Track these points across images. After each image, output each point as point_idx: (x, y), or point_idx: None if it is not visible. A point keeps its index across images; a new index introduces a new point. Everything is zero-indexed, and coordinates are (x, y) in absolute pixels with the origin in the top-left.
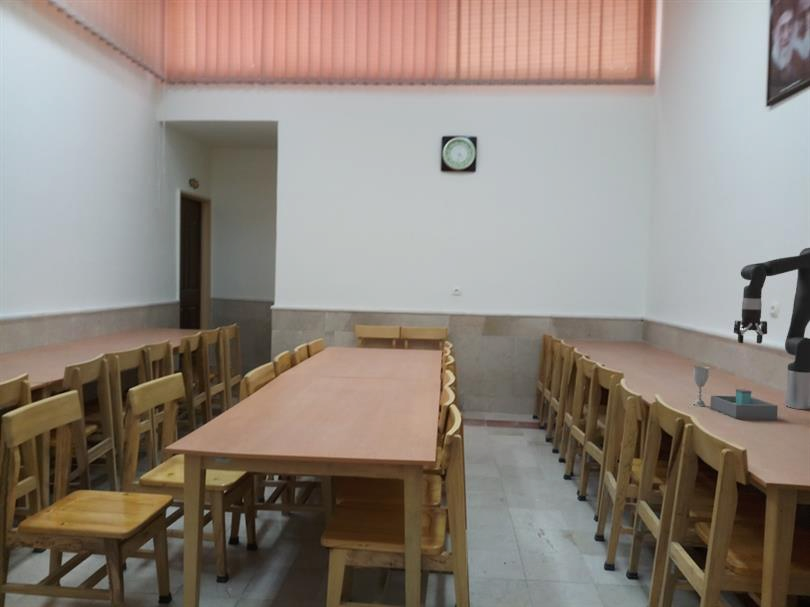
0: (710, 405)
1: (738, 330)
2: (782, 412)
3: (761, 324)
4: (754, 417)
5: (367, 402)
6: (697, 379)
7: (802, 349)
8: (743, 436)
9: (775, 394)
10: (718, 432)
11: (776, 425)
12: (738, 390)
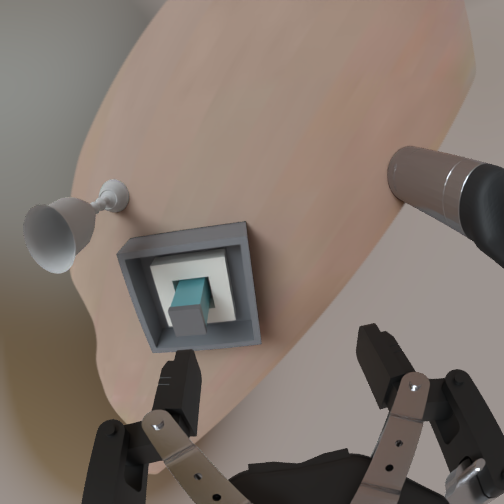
0: (127, 241)
1: (134, 476)
2: (327, 243)
3: (447, 489)
4: None
5: None
6: (62, 235)
7: None
8: (140, 410)
9: (439, 21)
10: (110, 397)
11: (226, 362)
12: (171, 321)
